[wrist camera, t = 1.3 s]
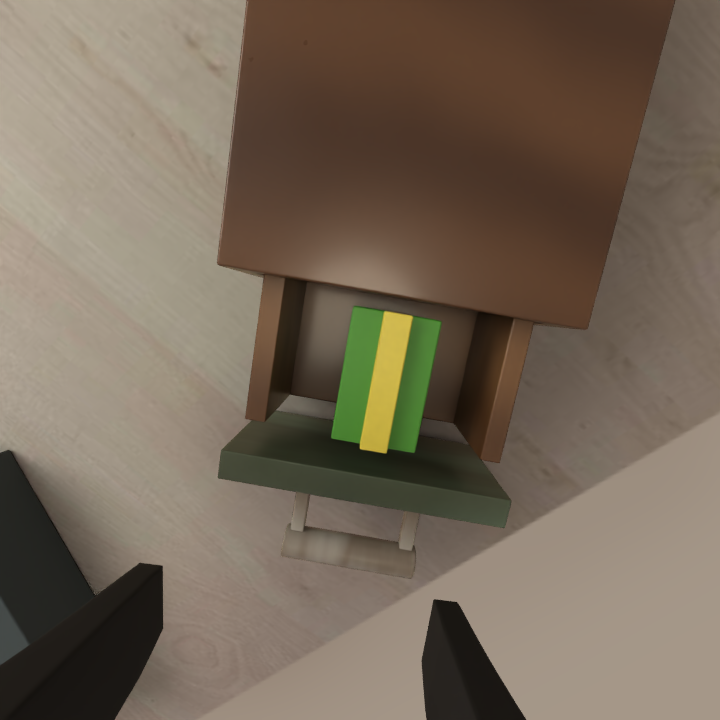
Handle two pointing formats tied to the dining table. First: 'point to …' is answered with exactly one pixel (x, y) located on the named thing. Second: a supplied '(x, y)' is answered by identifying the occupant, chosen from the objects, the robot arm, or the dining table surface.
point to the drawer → (345, 459)
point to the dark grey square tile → (31, 566)
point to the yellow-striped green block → (385, 379)
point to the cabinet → (439, 147)
